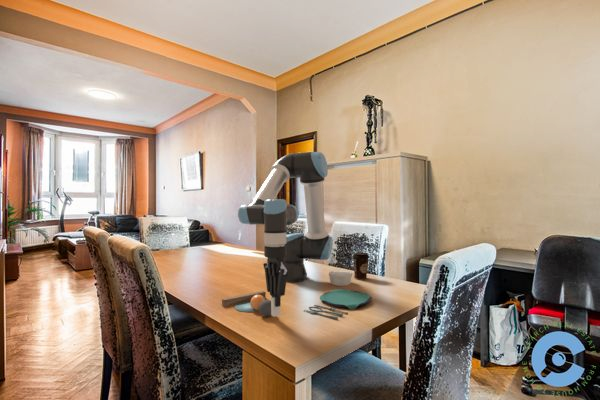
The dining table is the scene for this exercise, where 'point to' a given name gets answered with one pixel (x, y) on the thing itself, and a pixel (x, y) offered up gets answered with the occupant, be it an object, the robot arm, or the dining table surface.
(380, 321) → the dining table surface
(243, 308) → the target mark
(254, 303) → the orange ball
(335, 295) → the cutlery set
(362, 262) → the coffee cup
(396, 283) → the dining table surface
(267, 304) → the gray ball
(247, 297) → the stopper strip
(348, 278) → the ramekin
